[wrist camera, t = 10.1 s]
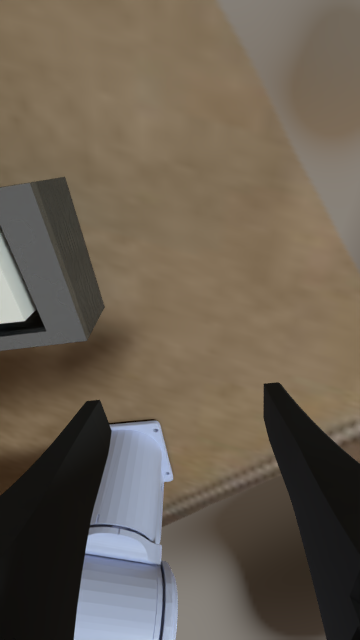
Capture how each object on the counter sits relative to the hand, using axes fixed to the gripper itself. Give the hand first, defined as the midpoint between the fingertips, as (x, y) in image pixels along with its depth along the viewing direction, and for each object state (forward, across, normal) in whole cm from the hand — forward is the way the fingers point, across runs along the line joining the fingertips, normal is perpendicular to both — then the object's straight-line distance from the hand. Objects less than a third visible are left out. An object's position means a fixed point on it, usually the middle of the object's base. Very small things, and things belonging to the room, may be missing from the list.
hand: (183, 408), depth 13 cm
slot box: (+10, +10, -5) cm, 15 cm away
